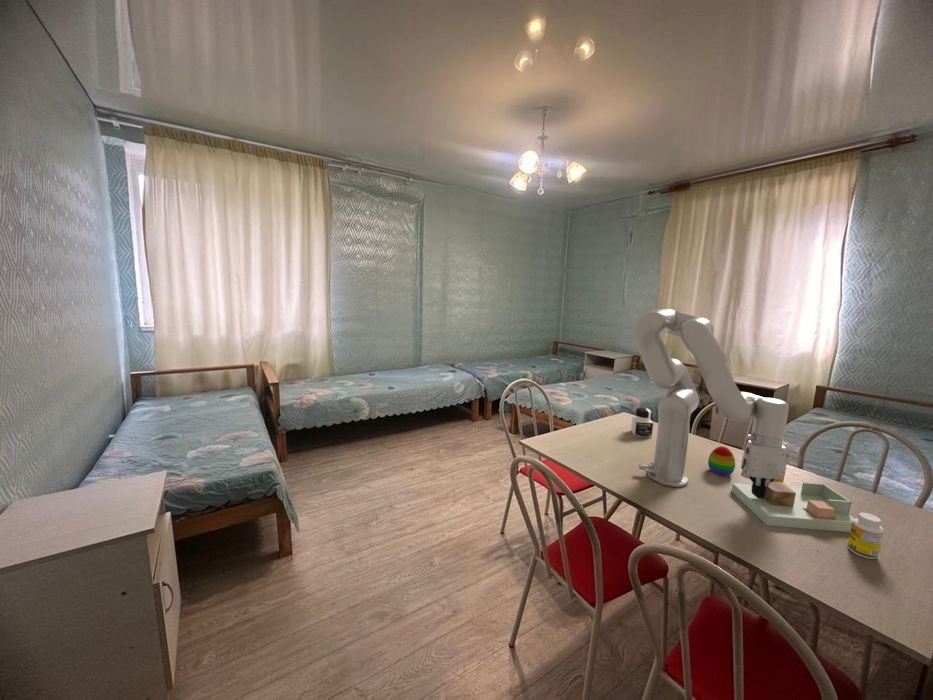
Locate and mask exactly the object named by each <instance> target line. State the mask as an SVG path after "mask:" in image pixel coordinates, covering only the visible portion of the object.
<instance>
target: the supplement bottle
mask: <svg viewBox="0 0 933 700" xmlns="http://www.w3.org/2000/svg"><path fill="white" fill-rule="evenodd" d="M854 518H855V517H854ZM881 524H882V519H880V518H879V517H878V516H876V515H874V514H871V513H869V512H868V513H867V512H859V513H858V515H857V517H856V518H855V519H854V520H853V522H852V526H851V531H850V532H849V536H848V540H847V548H848V549H849V551H851V552H852V553H853V554H855V555H857V556H859V557H861V558H864V559H871V560H873V559H877V558H878V556H879V552H880V548H881V544H882V540H883V536H884V532H885V530H884V528H883V527H882V526H881Z"/></svg>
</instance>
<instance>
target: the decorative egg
mask: <svg viewBox="0 0 933 700" xmlns="http://www.w3.org/2000/svg"><path fill="white" fill-rule="evenodd" d="M707 464H708V468H709V470H710V471H711V473H713V474H714V475H716V476H719V477H730V475H732V473H734V471H735V469H736V459H735V456H734V453H732V451H731V449H729V447H726V446H717V447H716V448H715V449H713V450H712V451H711V452H710V454H709V456H708V459H707Z"/></svg>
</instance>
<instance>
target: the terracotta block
mask: <svg viewBox="0 0 933 700" xmlns="http://www.w3.org/2000/svg"><path fill="white" fill-rule="evenodd" d="M806 512H807V513H809V514H810V515H811V516H812V517H814V518H821V519H832V518H833V513H834V509H833V508H832V507H831V506H829V505H828V504H826V503H825V502H823V501H814V500H808V503H807V508H806Z"/></svg>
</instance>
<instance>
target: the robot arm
mask: <svg viewBox="0 0 933 700" xmlns="http://www.w3.org/2000/svg"><path fill="white" fill-rule="evenodd" d="M714 333H715V327H714V325H713V323H712V322H711V321H710V320H709V319H707V318H705V317H703V316H702V317H701V316H698V315H694V314H690V313H686V312H682V311H679V310H674V309H670V308H660V309H652V310H650V311H647V312H645V313H644V314H643V315H642V316H640V318H638V320H637V322H636V323H635V326H634V329H633V340H634V343H635V346H636V348H637V350H638V352H639V355H640V357H641V361H642V363H643V364H644V367H645V370H646V371H647V375H648V376H649V379H650V382H651V384H653V385H654V386H655V388H658V389H661V390H665V392H666V393H665V394H664V395H663V396H662V397H661V399H660V400H659V402H658V408H657V410H658V411H657V413H658V414H657V415H658V417H657V418H658V423H657V432H656V441H655V449H654V450H655V452H654V458H653V460H652V461H650V463H648V464H643V463H639V464H638V470H641V471H644V472H645V473H647V476H648V477H649V478H650V479H651V480H653V481H654V482H656V483H658V484H660V485H664V486H665V487H666V486H667V487H671V488H672V487H673V488H681V487H686V486H687V485H688V483H689V479H688V478H689V477H687V476H686V475H685V467H686V466H685V465H686V461H687V460H686V458H687V452H688V447H689V446H688V444H689V437H690V426H691V425H690V423H691V422H690V421H691V414H692V413H693V412H695V410H697V408H698V406H699V404H700V397H699V394H698V392H697V390H696V387H695V385H694V383H693V380H692V378H691V375H690V374H689V372H688V369H687V367H686V366H685V364H684V363H683V362H681V360H679V359H676V358H674V357H673V358H672V357H671V355H670V353H669V352H668V351H669V350H668V348H667V346H666V344H665V343H664V341H663V340H662V337H661V335H662V334H670V335H672V336H677V337H679V339H680V340H681V342H682V343H683V345H684V347H685V348H686V349H687V351H688V352H689V353H688V354H689V355H690V356H691V357H692V359H693V361H694V362H695V364H696V366H697V368H698V369H699V371H700V374H701V376H702V380H703V381H704V384H705V387H706V389H707V391H708V393H709V395H710V397H711V398H712V400H713V402H714V403H715V405H716V407H717V408H718V410H719V411H720V413H721V414H722V415H723V416H724V418H726V419H727V420H729V421H730V422H733V423H742V422H743V423H744V422H746V421H747V420H749V419H750V418H751V417H752V418H753V420H752V421H753V422H752V428H751V432H750V433H751V434H747V436H746V438H747V440H748V442H747V443H746V446H745V448H744V451H743V454H742V459H741V465H740V468H741V472H740V476H742V478H745V479H748V480H750V481H751V482H752V490H751V491H752V494H753V495H755V496H756V497H757V498H762V499H764V495H765V492H766V487H767V486H769V484H770V483H771V482H772V481H776V480H781V479H782V478H784V479H785V475H786V473H787V471H786V470H787V465H786V448H785V446H783V440H784V438H785V434H786V433H785V432H786V429H787V428H786V427H787V421H788V415H789V409H790V408H789V407H790V406H789V403H787V402H786V401H784V400H782V399H779V398H774V397H763V396H760V395H756V394H754V393H751V392H747V391H741V390H740V389H739V387H738V386H737V384H736V382H735V380H734V377H733V375H732V371H731V362H730V360H729V356H728V354H727V353H726V352H725V351H724V349H723V348H722V346H721V345H720V343H719V341H718V340H717V339H716V336H715V335H714ZM784 441H785V440H784Z"/></svg>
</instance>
